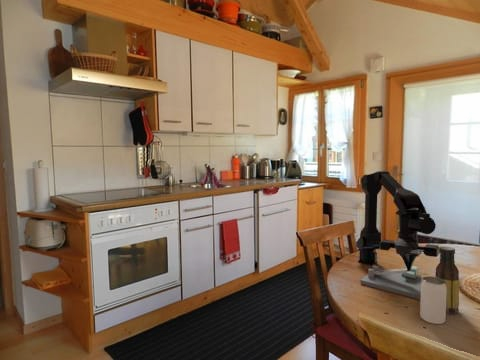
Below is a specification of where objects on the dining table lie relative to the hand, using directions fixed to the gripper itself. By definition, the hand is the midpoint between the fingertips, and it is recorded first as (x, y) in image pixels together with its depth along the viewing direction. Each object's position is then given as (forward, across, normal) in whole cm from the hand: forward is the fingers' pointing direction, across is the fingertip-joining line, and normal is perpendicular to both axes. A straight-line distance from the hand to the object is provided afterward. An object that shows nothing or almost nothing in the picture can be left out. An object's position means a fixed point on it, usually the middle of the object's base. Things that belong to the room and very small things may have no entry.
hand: (409, 270), depth 116 cm
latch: (+4, -1, +6) cm, 8 cm away
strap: (+2, -7, 0) cm, 7 cm away
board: (+6, -4, +1) cm, 7 cm away
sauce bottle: (+7, +13, -10) cm, 18 cm away
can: (+7, +11, -19) cm, 23 cm away
